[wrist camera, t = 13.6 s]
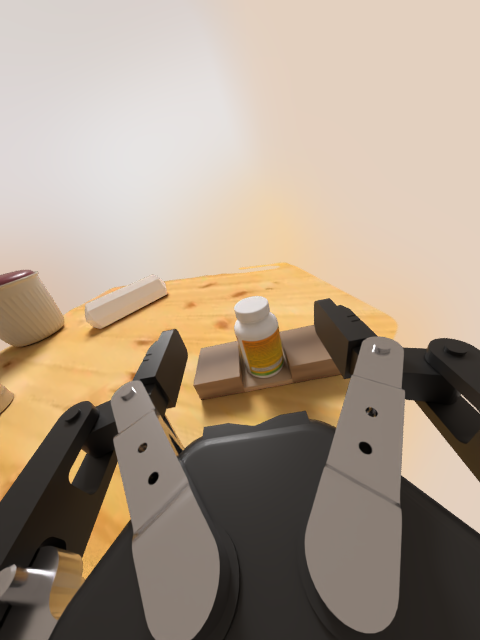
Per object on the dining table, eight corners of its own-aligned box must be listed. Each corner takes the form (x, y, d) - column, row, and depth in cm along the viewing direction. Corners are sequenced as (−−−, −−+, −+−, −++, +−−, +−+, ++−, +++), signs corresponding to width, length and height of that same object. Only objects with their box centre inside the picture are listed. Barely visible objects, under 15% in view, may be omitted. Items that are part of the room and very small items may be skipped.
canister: (46, 347, 51) (-30, 270, 40) (-15, 362, 53) (-105, 290, 42) (88, 313, 67) (41, 250, 56) (40, 325, 68) (-15, 265, 57)
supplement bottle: (293, 363, 27) (284, 299, 22) (262, 386, 25) (245, 322, 20) (266, 345, 31) (254, 289, 26) (238, 364, 29) (219, 307, 24)
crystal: (156, 279, 69) (80, 314, 56) (159, 270, 63) (75, 307, 50) (169, 297, 69) (97, 335, 57) (173, 290, 63) (94, 331, 51)
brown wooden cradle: (340, 374, 24) (341, 356, 23) (201, 400, 26) (193, 385, 25) (319, 339, 30) (318, 323, 29) (206, 362, 32) (200, 348, 30)
